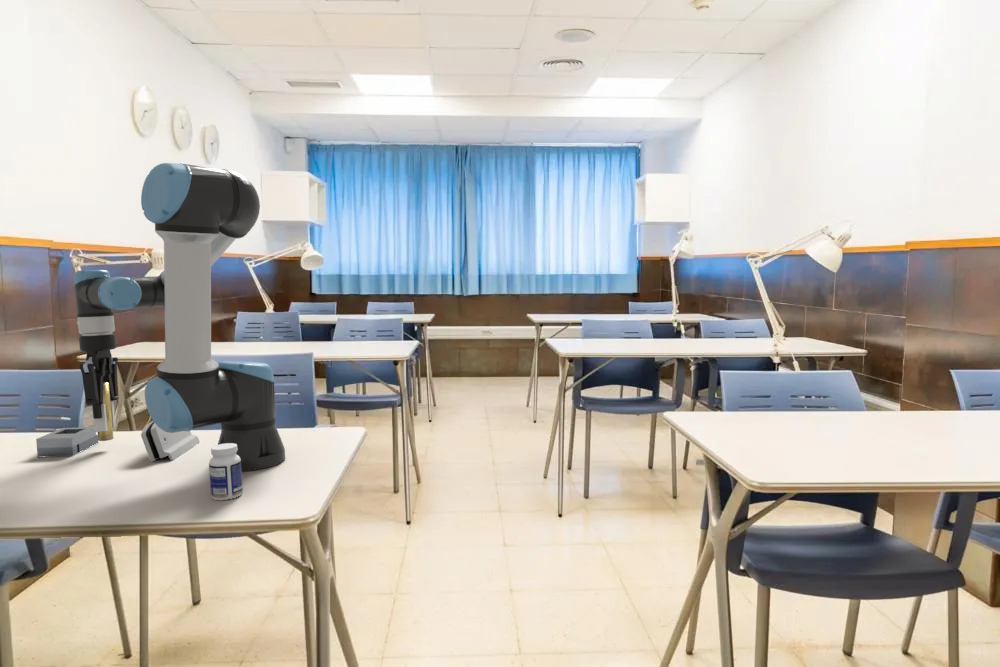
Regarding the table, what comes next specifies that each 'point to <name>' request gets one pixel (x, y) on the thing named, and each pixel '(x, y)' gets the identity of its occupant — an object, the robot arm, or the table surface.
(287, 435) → the table surface
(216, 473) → the pill bottle
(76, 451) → the grey block with pocket
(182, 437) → the white piece
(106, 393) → the pin
